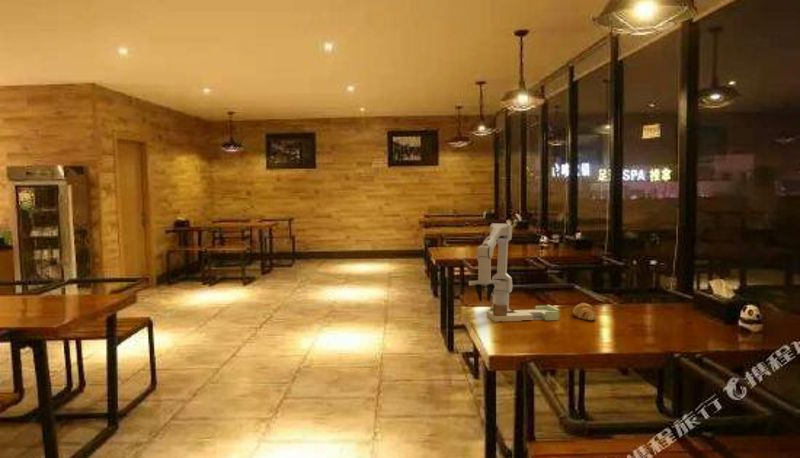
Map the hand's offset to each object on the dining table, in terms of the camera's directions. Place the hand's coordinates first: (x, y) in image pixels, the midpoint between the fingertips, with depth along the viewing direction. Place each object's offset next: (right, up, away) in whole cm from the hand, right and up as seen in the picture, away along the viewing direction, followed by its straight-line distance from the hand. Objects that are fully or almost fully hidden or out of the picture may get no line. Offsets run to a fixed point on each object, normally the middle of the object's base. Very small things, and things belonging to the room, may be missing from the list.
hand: (484, 300), depth 273 cm
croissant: (+49, -9, +8) cm, 50 cm away
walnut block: (+7, -7, +1) cm, 10 cm away
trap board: (+18, -9, +6) cm, 21 cm away
